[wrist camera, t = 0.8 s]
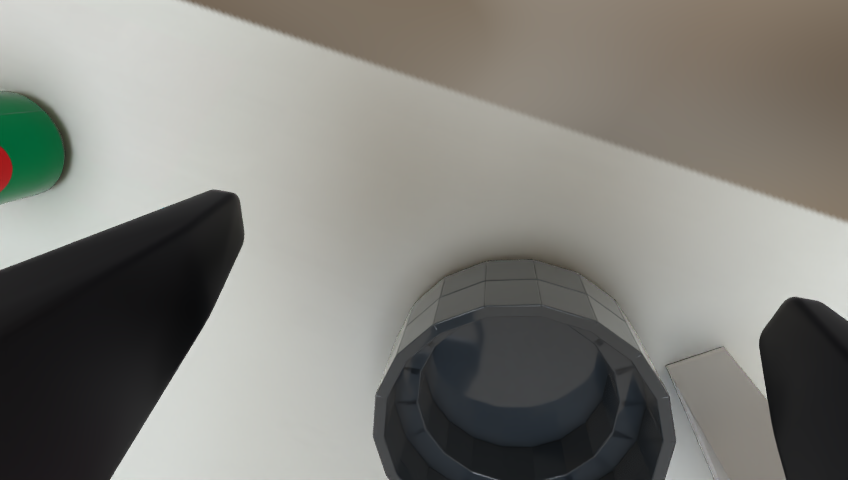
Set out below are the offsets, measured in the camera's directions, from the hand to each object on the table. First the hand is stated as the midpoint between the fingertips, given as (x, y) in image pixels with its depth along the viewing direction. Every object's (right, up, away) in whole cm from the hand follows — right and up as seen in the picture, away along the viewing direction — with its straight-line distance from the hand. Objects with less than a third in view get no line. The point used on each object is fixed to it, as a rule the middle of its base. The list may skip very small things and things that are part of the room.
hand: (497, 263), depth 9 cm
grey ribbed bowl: (+3, -6, +18) cm, 19 cm away
